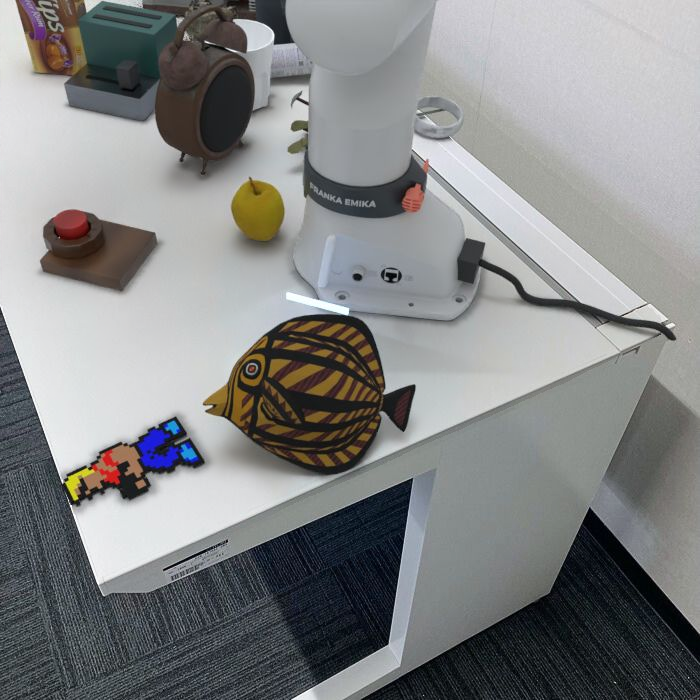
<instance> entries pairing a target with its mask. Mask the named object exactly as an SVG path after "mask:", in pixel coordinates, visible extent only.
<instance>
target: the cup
mask: <svg viewBox="0 0 700 700" xmlns="http://www.w3.org/2000/svg"><path fill="white" fill-rule="evenodd" d="M233 22H235V24H237V25H239V26H240V27H241V28H242V29H243V30H244V32H245V33H246V35H247V43H248V44H247V53H242V52H238V51H235V50H231V49H228V48H226V49H228V50H230V51H232V52H234V53H236V54H238V55H240V56H242V57H243V58H245V59H246V60H247V62H248V63H249V65H250V67H251V69H252V72H253V76H254V82H255V98H254V106H253V111H252V112H254V111H256V110H258V109H260V108H265V107H268V106H269V96H270V93H271V78H270V74H271V63H272V56H273V45H274V33H273V31H272V30H271V29H270V28H269V27H268V26H266V25H264V24H262V23H259V22H257V21H251V20H242V19H234V20H233ZM205 43H209V44H213V43H210V42H207V41H205ZM214 45H216V44H214ZM218 46H219V45H218Z"/></svg>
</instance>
